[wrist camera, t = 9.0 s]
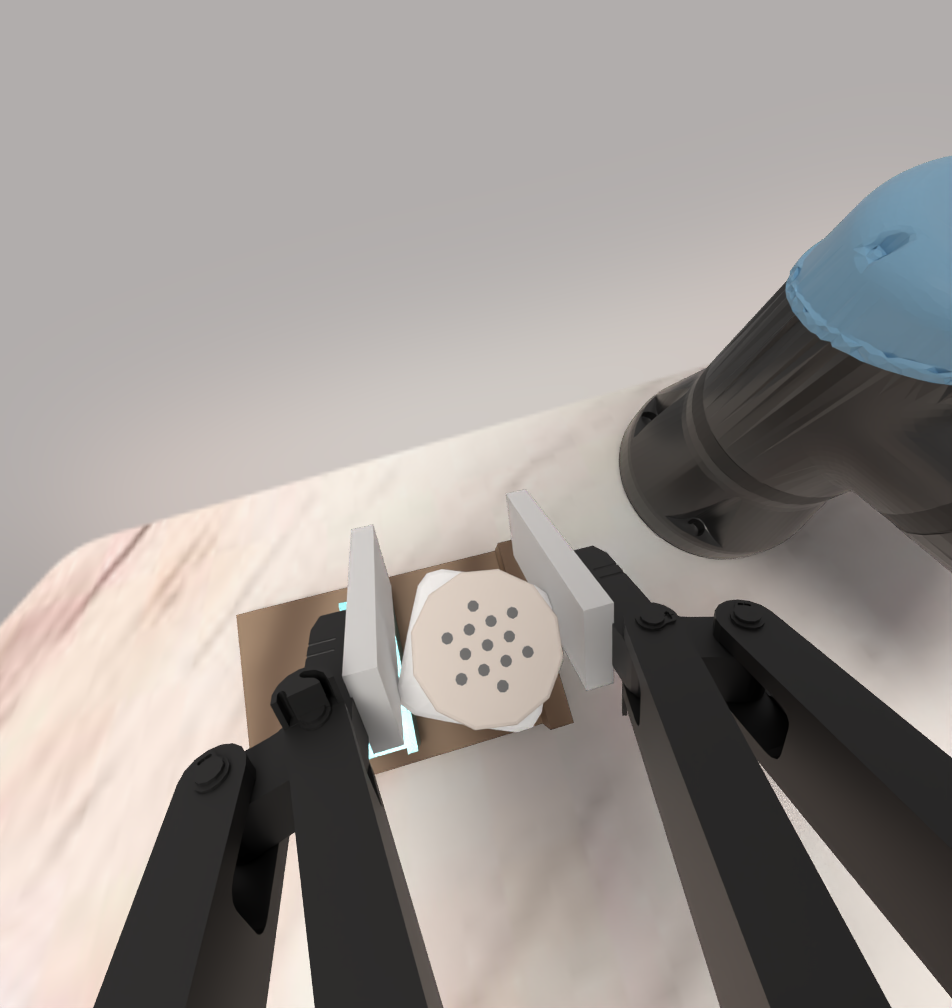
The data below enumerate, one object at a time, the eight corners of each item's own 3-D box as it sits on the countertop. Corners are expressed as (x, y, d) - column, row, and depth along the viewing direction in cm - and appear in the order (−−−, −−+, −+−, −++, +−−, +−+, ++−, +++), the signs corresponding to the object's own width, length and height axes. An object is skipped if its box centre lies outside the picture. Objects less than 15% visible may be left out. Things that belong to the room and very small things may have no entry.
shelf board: (511, 550, 35) (518, 538, 31) (558, 714, 31) (573, 722, 27) (245, 616, 32) (218, 612, 28) (265, 802, 29) (237, 825, 25)
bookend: (390, 591, 32) (385, 586, 29) (421, 742, 29) (418, 750, 26) (339, 603, 31) (330, 600, 29) (365, 759, 28) (357, 769, 26)
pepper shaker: (524, 606, 19) (590, 566, 10) (511, 709, 18) (575, 770, 9) (430, 590, 19) (411, 535, 10) (411, 692, 18) (368, 735, 9)
